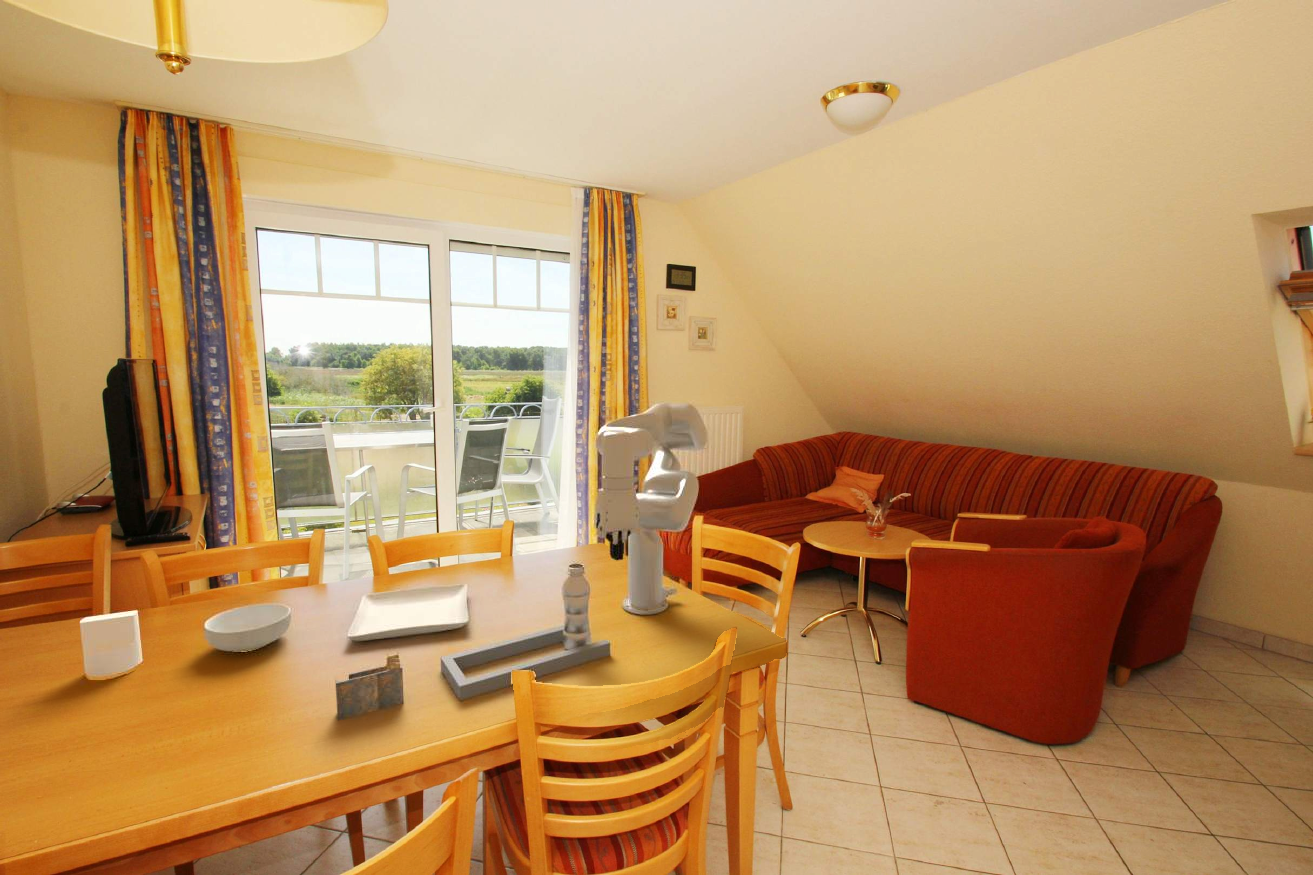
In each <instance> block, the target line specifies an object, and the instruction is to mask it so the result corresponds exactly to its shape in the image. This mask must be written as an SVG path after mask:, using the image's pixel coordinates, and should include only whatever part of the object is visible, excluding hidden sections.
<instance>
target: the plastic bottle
mask: <svg viewBox="0 0 1313 875" xmlns="http://www.w3.org/2000/svg"><path fill="white" fill-rule="evenodd" d="M585 572H586V571H585V565H584V564H583V563H571V564H568V566H567V575H568V576H567V577H566V579H565V580H564V582H563V583H562V586H561V596H562V600H563V601H562V602H563V610H564V623H563V625H564V630H563V637H562V640H563V642H562V645H563V647H564V648H565V650H566V651H567V650H570V649H574V648H577V647H581V646H584V645H588V644H591V643H592V635H591V634H592V633H591V629H590V622H589V621H590V620H589V602H590V594H591V585H590V583H589V582H588V580H587V578H586V577H585V576H584V575H585Z"/></svg>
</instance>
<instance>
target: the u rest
mask: <svg viewBox="0 0 1313 875" xmlns="http://www.w3.org/2000/svg"><path fill="white" fill-rule="evenodd" d="M563 630H564V624H563V625H560V626H556V627H553V628H548V629H544V630H540V631H537V632H533V633H529V634H528V633H527V634H526V635H525V634H524V635H522V636H517V637H514V638H513V637H512V638H510V639H506V640H502V641H498V642H494V643H490V644H486V645H483V646H479V647H476V648H475V647H474V648H471V649H467V650H464V651H459V652H457V653H456V652H455V653H452V654H451V653H450V654H449V655H444V656H440V671H441V673H442V674H443V676H444V678H445V680H446V681H447V683H448V684H449V686H450V687H451V688H452V690H453V692H454V694H455V695H456V698H457V699H458V700H459V701H464V700H468V699H470V698H474V697H478V696H480V695H483V694H486V693H490V692H494V691H497V690H500V689H503V688H508V687H511V686H512V685H511V671H512V670H531V671H534V672H535V674H536V678H535V679H537V678H539V677H543V676H546V675H547V676H548V675H550V674H552V673H556V672H559V671H563V670H565V669H569V668H572V667H573V668H574V667H575V666H578V665H579V666H580V665H582V664H583V665H584V664H586V663H589V662H592V661H596V660H599V659H602V658H605V657H609V656H611V642H610V641H609V640H607V639H602V640H599V641H596V642H590V644H588V645H584V646H581V647H577V648H574V649H570V650H567V649H566V650H564V651H561V652H558V653H553V654H550V655H547V656H543V657H539V658H536V659H532V660H529V661H526V662H522V663H518V664H515V665H512V666H508V667H504V668H501V669H498V670H495V671H490V672H487V673H484V674H483V673H482V674H479V675H476V676H473V677H469V678H466V676H465V674H464V673H463V671H462V670H464V669H467V668H471V667H475V666H479V665H483V664H486V663H491V662H493V661H497V660H501V659H504V658H505V659H506V658H507V657H511V656H515V655H519V654H523V653H525V652H529V651H533V650H536V649H541V648H544V647H545V648H546V647H548V646H551V645H555V644H559V643H563V640H562V637H563Z"/></svg>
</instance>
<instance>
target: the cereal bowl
mask: <svg viewBox="0 0 1313 875" xmlns="http://www.w3.org/2000/svg"><path fill="white" fill-rule="evenodd" d="M291 613H292V610H291V608H290V607H289V606H288V605H286V604H282V603H275V602H274V603H269V602H268V603H258V604H250V605H245V606H240V607H235V608H232V609H229V610H225V611H222V612H219V613H218V614H215V615H213V616H212V617H210V618H209V619H207V620H206V621H205V622H204V624H203V633H204V637H205V640H206V642H207V643H208V644H209V645H210V646H211V647H213V648H214V649H216V650H220V651H224V652H225V651H226V652H231V651H235V652H241V651H249V650H254V649H257V648H261V647H263V646H265V645H266V646H267V644H268V645H269V644H270V643H271V644H272V642H274V641H276V640H278V639H279V638H281V637H282V636H283V635H284V634H285V633H286V632H287V631H288V629H289V626H290V625H291V621H292V620H291V619H292V614H291ZM266 646H265V647H266ZM263 648H264V647H263ZM261 649H262V648H261Z"/></svg>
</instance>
